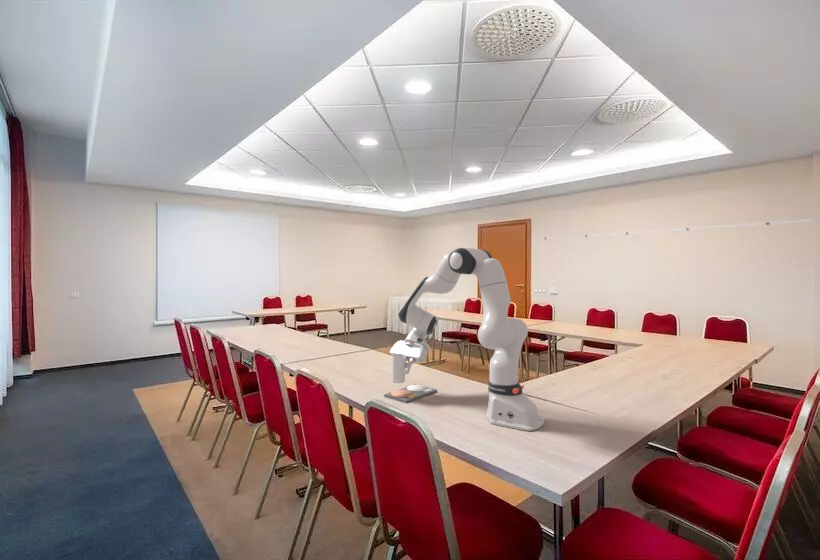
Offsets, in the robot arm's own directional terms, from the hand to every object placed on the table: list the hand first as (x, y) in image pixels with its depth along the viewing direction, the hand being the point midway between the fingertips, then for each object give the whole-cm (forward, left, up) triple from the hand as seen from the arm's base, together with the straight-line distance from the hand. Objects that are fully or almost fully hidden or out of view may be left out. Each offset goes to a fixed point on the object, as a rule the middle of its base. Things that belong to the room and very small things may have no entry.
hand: (400, 366), depth 183 cm
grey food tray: (-1, -6, -14) cm, 16 cm away
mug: (0, -1, -7) cm, 7 cm away
